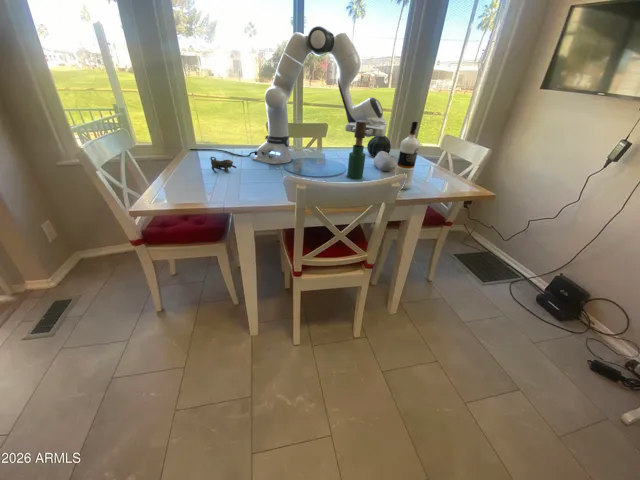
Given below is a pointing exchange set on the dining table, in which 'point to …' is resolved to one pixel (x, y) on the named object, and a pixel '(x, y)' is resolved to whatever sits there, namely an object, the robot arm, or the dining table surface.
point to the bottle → (356, 163)
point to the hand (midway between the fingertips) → (359, 131)
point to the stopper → (360, 131)
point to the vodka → (408, 156)
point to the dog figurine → (221, 164)
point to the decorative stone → (384, 161)
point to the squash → (378, 145)
